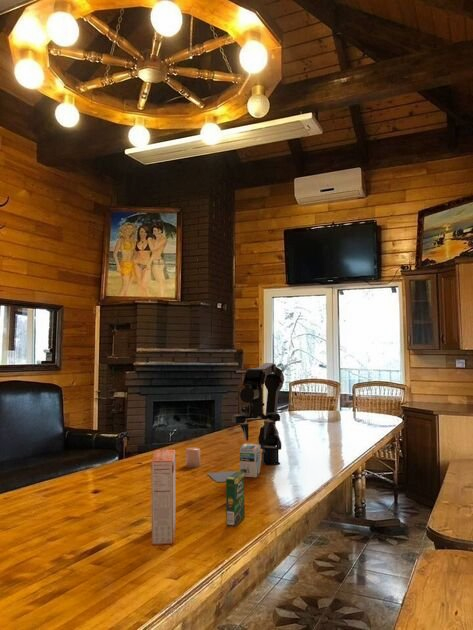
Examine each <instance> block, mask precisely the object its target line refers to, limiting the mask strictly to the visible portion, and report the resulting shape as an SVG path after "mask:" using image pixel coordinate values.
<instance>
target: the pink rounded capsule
mask: <svg viewBox="0 0 473 630" xmlns="http://www.w3.org/2000/svg"><path fill="white" fill-rule="evenodd" d="M200 466H201V448H200V447H187V448H185V467H186V468H191V469H192V468H193V469H194V468H199V467H200Z"/></svg>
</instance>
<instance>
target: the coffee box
mask: <svg viewBox="0 0 473 630" xmlns="http://www.w3.org/2000/svg"><path fill="white" fill-rule="evenodd" d="M234 472H235V473H234V474H233V475H231V476H230V477H228V478H227V479H226V482H225V483H226V485H225V487H226V488H225V489H226V490H225V493H226V494H225V497H226V500H225V501H226V503H225V504H226V505H225V507H226V508H225V509H226V513H225V516H226V520H225V521H226V527H233V528H235V527H236V526H238V524H239V523H241V522H242V521H243V520H244V519H245V515H246V513H245V480H244V479H245V477H244V473H243V472H240V471H234Z"/></svg>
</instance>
